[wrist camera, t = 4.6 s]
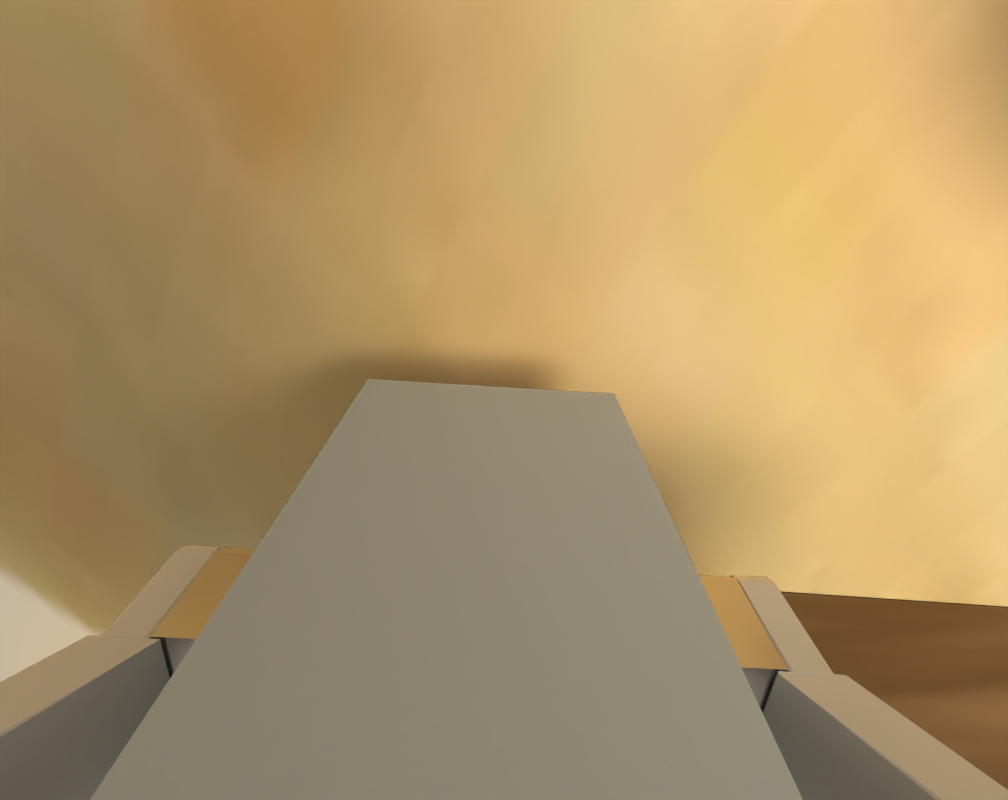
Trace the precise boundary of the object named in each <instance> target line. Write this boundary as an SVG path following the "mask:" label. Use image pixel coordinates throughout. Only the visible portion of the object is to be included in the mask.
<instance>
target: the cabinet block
mask: <svg viewBox="0 0 1008 800" xmlns="http://www.w3.org/2000/svg"><path fill="white" fill-rule="evenodd" d="M90 800H803V799H802V797H801V795H800V792H799V790H798V788H797V786H796V784H795V782H794V780H793V777H792V775H791V773H790V771H789V769H788V767H787V764H786V762H785V760H784V758H783V756H782V754H781V752H780V749H779V747H778V745H777V743H776V741H775V739H774V737H773V734H772V732H771V730H770V728H769V726H768V724H767V721H766V719H765V717H764V715H763V713H762V711H761V709H760V706H759V704H758V702H757V700H756V698H755V696H754V694H753V691H752V689H751V687H750V685H749V683H748V681H747V678H746V676H745V674H744V672H743V670H742V668H741V666H740V663H739V661H738V659H737V657H736V655H735V653H734V651H733V648H732V646H731V644H730V642H729V640H728V638H727V635H726V633H725V631H724V629H723V627H722V625H721V623H720V620H719V618H718V616H717V614H716V612H715V610H714V607H713V605H712V603H711V601H710V599H709V597H708V595H707V592H706V590H705V588H704V586H703V584H702V582H701V580H700V577H699V575H698V573H697V571H696V569H695V567H694V564H693V562H692V560H691V558H690V556H689V554H688V552H687V549H686V547H685V545H684V543H683V541H682V539H681V537H680V534H679V532H678V530H677V528H676V526H675V524H674V521H673V519H672V517H671V515H670V513H669V511H668V509H667V506H666V504H665V502H664V500H663V498H662V496H661V494H660V491H659V489H658V487H657V485H656V483H655V481H654V478H653V476H652V474H651V472H650V470H649V468H648V466H647V463H646V461H645V459H644V457H643V455H642V453H641V451H640V448H639V446H638V444H637V442H636V440H635V438H634V435H633V433H632V431H631V429H630V427H629V425H628V423H627V420H626V418H625V416H624V414H623V412H622V410H621V407H620V405H619V403H618V401H617V399H616V397H615V395H614V394H611V393H594V392H578V391H561V390H545V389H529V388H512V387H496V386H479V385H463V384H446V383H430V382H413V381H397V380H380V379H368V380H367V381H366V383H365V384H364V386H363V387H362V389H361V390H360V392H359V393H358V395H357V396H356V398H355V399H354V401H353V402H352V404H351V405H350V407H349V408H348V410H347V411H346V413H345V415H344V416H343V418H342V419H341V421H340V422H339V424H338V425H337V427H336V428H335V430H334V431H333V433H332V434H331V436H330V437H329V439H328V440H327V442H326V443H325V445H324V446H323V448H322V449H321V451H320V452H319V454H318V455H317V457H316V458H315V460H314V461H313V463H312V464H311V466H310V467H309V469H308V471H307V472H306V474H305V475H304V477H303V478H302V480H301V481H300V483H299V484H298V486H297V487H296V489H295V490H294V492H293V493H292V495H291V496H290V498H289V499H288V501H287V502H286V504H285V505H284V507H283V508H282V510H281V511H280V513H279V514H278V516H277V517H276V519H275V520H274V522H273V523H272V525H271V527H270V528H269V530H268V531H267V533H266V534H265V536H264V537H263V539H262V540H261V542H260V543H259V545H258V546H257V548H256V549H255V551H254V552H253V554H252V555H251V557H250V558H249V560H248V561H247V563H246V564H245V566H244V567H243V569H242V570H241V572H240V573H239V575H238V576H237V578H236V580H235V581H234V583H233V584H232V586H231V587H230V589H229V590H228V592H227V593H226V595H225V596H224V598H223V599H222V601H221V602H220V604H219V605H218V607H217V608H216V610H215V611H214V613H213V614H212V616H211V617H210V619H209V620H208V622H207V623H206V625H205V626H204V628H203V629H202V631H201V632H200V634H199V636H198V637H197V639H196V640H195V642H194V643H193V645H192V646H191V648H190V649H189V651H188V652H187V654H186V655H185V657H184V658H183V660H182V661H181V663H180V664H179V666H178V667H177V669H176V670H175V672H174V673H173V675H172V676H171V678H170V679H169V681H168V682H167V684H166V685H165V687H164V688H163V690H162V692H161V693H160V695H159V696H158V698H157V699H156V701H155V702H154V704H153V705H152V707H151V708H150V710H149V711H148V713H147V714H146V716H145V717H144V719H143V720H142V722H141V723H140V725H139V726H138V728H137V729H136V731H135V732H134V734H133V735H132V737H131V738H130V740H129V741H128V743H127V745H126V746H125V748H124V749H123V751H122V752H121V754H120V755H119V757H118V758H117V760H116V761H115V763H114V764H113V766H112V767H111V769H110V770H109V772H108V773H107V775H106V776H105V778H104V779H103V781H102V782H101V784H100V785H99V787H98V788H97V790H96V791H95V793H94V794H93V796H92V797H91V799H90Z"/></svg>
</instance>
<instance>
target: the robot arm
mask: <svg viewBox="0 0 1008 800" xmlns="http://www.w3.org/2000/svg"><path fill="white" fill-rule="evenodd" d="M254 551H255V549H244V548H231V547H223V548H220V547H210V546H197V545H186V546H184V547H182V548H179V549H177V550H176V551H175V552H174V553H173V554H172V556H171V557H170V558H169V559H168V560H167V561H166V562H165V564H164V565H163V566H162V567H161V568H160V569H159V570H158V572H157V573H156V574H155V575H154V576H153V577H152V578H151V580H150V581H149V582H148V583H147V584H146V585H145V586H144V588H143V589H142V590H141V591H140V592H139V593H138V594H137V596H136V597H135V598H134V599H133V600H132V601H131V602H130V604H129V605H128V606H127V607H126V608H125V609H124V610H123V612H122V613H121V614H120V615H119V616H118V617H117V619H116V620H115V621H114V622H113V623H112V624H111V625H110V627H109V628H108V629H107V630H106V631H105V632H104V633H103V635H102V636H87V637H85V638H83V639H81V640H79V641H77V642H75V643H73V644H72V645H70V646H68V647H66V648H64V649H62V650H60V651H58V652H56V653H55V654H53V655H51V656H49V657H48V658H45V659H43V660H41V661H40V662H38V663H36V664H34V665H32V666H30V667H28V668H26V669H25V670H23V671H21V672H19V673H17V674H15V675H13V676H12V677H9V678H7V679H6V680H4V681H2V682H0V800H90V799H91V797H92V796H93V794H94V793H95V791H96V790H97V788H98V787H99V785H100V784H101V782H102V781H103V779H104V778H105V776H106V775H107V773H108V772H109V770H110V769H111V767H112V766H113V764H114V763H115V761H116V760H117V758H118V757H119V755H120V754H121V752H122V751H123V749H124V748H125V746H126V745H127V743H128V741H129V740H130V738H131V737H132V735H133V734H134V732H135V731H136V729H137V728H138V726H139V725H140V723H141V722H142V720H143V719H144V717H145V716H146V714H147V713H148V711H149V710H150V708H151V707H152V705H153V704H154V702H155V701H156V699H157V698H158V696H159V695H160V693H161V692H162V690H163V688H164V687H165V685H166V684H167V682H168V681H169V679H170V678H171V676H172V675H173V673H174V672H175V670H176V669H177V667H178V666H179V664H180V663H181V661H182V660H183V658H184V657H185V655H186V654H187V652H188V651H189V649H190V648H191V646H192V645H193V643H194V642H195V640H196V639H197V637H198V636H199V634H200V632H201V631H202V629H203V628H204V626H205V625H206V623H207V622H208V620H209V619H210V617H211V616H212V614H213V613H214V611H215V610H216V608H217V607H218V605H219V604H220V602H221V601H222V599H223V598H224V596H225V595H226V593H227V592H228V590H229V589H230V587H231V586H232V584H233V583H234V581H235V580H236V578H237V576H238V575H239V573H240V572H241V570H242V569H243V567H244V566H245V564H246V563H247V561H248V560H249V558H250V557H251V555H252V554H253V552H254ZM699 577H700V580H701V582H702V584H703V586H704V588H705V590H706V592H707V595H708V597H709V599H710V601H711V603H712V605H713V607H714V610H715V612H716V614H717V616H718V618H719V620H720V623H721V625H722V627H723V629H724V631H725V633H726V635H727V638H728V640H729V642H730V644H731V646H732V648H733V651H734V653H735V655H736V657H737V659H738V661H739V663H740V666H741V668H742V670H743V672H744V674H745V676H746V678H747V681H748V683H749V685H750V687H751V689H752V691H753V694H754V696H755V698H756V700H757V702H758V704H759V706H760V709H761V711H762V713H763V715H764V717H765V719H766V721H767V724H768V726H769V728H770V730H771V732H772V734H773V737H774V739H775V741H776V743H777V745H778V747H779V749H780V752H781V754H782V756H783V758H784V760H785V762H786V764H787V767H788V769H789V771H790V773H791V775H792V777H793V780H794V782H795V784H796V786H797V788H798V790H799V792H800V795H801V797H802V799H803V800H1008V790H1007V789H1006V788H1004V787H1003V786H1002V785H1000V784H999V783H997V782H996V781H995V780H993V779H992V778H990V777H989V776H988V775H986V774H985V773H983V772H982V771H981V770H979V769H978V768H976V767H975V766H973V765H972V764H971V763H969V762H968V761H966V760H965V759H964V758H962V757H961V756H959V755H958V754H957V753H955V752H954V751H952V750H951V749H950V748H948V747H947V746H945V745H944V744H942V743H941V742H940V741H938V740H937V739H935V738H934V737H933V736H931V735H930V734H928V733H927V732H926V731H924V730H923V729H921V728H920V727H919V726H917V725H916V724H914V723H913V722H911V721H910V720H909V719H907V718H906V717H904V716H903V715H902V714H900V713H899V712H897V711H896V710H895V709H893V708H892V707H890V706H889V705H888V704H886V703H885V702H883V701H882V700H880V699H879V698H878V697H876V696H875V695H873V694H872V693H871V692H869V691H868V690H866V689H865V688H864V687H862V686H861V685H859V684H858V683H857V682H855V681H854V680H852V679H851V678H849V677H848V676H847V675H838V674H834V673H833V672H832V670H831V669H830V667H829V666H828V664H827V663H826V661H825V660H824V658H823V657H822V655H821V653H820V652H819V650H818V649H817V647H816V646H815V644H814V643H813V641H812V640H811V638H810V637H809V635H808V633H807V632H806V630H805V629H804V627H803V626H802V624H801V623H800V621H799V620H798V618H797V617H796V615H795V613H794V612H793V610H792V609H791V607H790V606H789V604H788V603H787V601H786V600H785V598H784V597H783V595H782V594H781V592H780V590H779V589H778V587H777V586H776V584H775V583H774V582H773V581H772V580H770V579H769V578H768V577H763V576H733V575H731V576H716V575H699Z"/></svg>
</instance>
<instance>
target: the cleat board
mask: <svg viewBox="0 0 1008 800" xmlns="http://www.w3.org/2000/svg"><path fill="white" fill-rule="evenodd" d="M781 594H782V595H783V597H784V598H785V600H786V601H787V603H788V604H789V606H790V607H791V609H792V610H793V612H794V613H795V615H796V617H797V618H798V620H799V621H800V623H801V624H802V626H803V627H804V629H805V630H806V632H807V633H808V635H809V637H810V638H811V640H812V641H813V643H814V644H815V646H816V647H817V649H818V650H819V652H820V653H821V655H822V657H823V658H824V660H825V661H826V663H827V664H828V666H829V667H830V669H831V670H832V672H833V673H834V674H838V675H847V676H848V677H849V678H851V679H852V680H854V681H855V682H857V683H858V684H859V685H861V686H862V687H864V688H865V689H866V690H868V691H869V692H871V693H872V694H873V695H875V696H876V697H878V698H879V699H880V700H882V701H883V702H885V703H886V704H888V705H889V706H890V707H892V708H893V709H895V710H896V711H897V712H899V713H900V714H902V715H903V716H904V717H906V718H907V719H909V720H910V721H911V722H913V723H914V724H916V725H917V726H919V727H920V728H921V729H923V730H924V731H926V732H927V733H928V734H930V735H931V736H933V737H934V738H935V739H937V740H938V741H940V742H941V743H942V744H944V745H945V746H947V747H948V748H950V749H951V750H952V751H954V752H955V753H957V754H958V755H959V756H961V757H962V758H964V759H965V760H966V761H968V762H969V763H971V764H972V765H973V766H975V767H976V768H978V769H979V770H981V771H982V772H983V773H985V774H986V775H988V776H989V777H990V778H992V779H993V780H995V781H996V782H997V783H999V784H1000V785H1002V786H1003V787H1004V788H1006V789H1007V790H1008V607H993V606H978V605H963V604H948V603H933V602H918V601H903V600H888V599H873V598H858V597H844V596H829V595H814V594H799V593H784V592H781Z"/></svg>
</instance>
